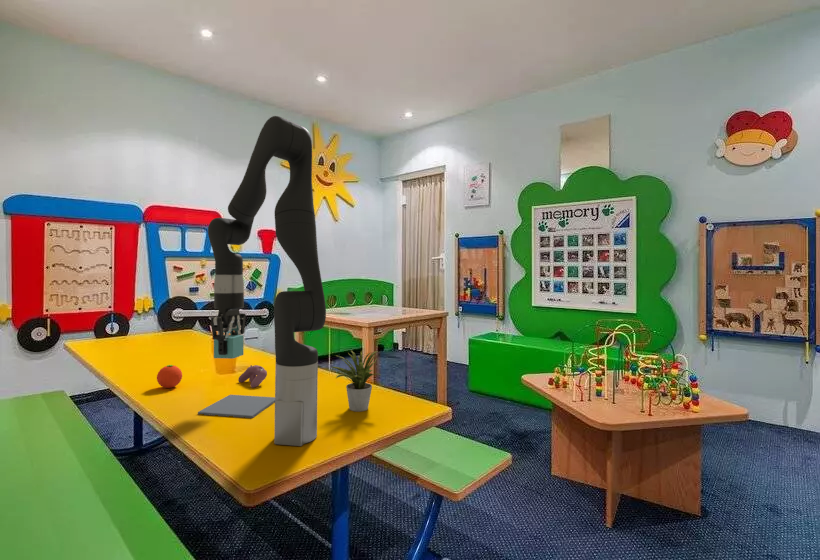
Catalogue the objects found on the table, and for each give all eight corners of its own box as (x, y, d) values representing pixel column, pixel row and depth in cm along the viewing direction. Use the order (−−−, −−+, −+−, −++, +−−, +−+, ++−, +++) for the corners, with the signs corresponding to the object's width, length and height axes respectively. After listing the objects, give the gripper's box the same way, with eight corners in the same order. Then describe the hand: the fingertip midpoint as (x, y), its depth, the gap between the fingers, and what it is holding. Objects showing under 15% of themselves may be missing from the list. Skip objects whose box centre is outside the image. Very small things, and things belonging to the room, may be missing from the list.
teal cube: (233, 358, 112) (233, 338, 112) (213, 358, 112) (213, 337, 112) (243, 354, 117) (243, 335, 117) (225, 354, 118) (225, 334, 118)
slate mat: (252, 418, 106) (252, 415, 106) (197, 414, 108) (197, 412, 108) (278, 399, 121) (278, 397, 121) (230, 396, 123) (230, 394, 123)
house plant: (354, 395, 126) (355, 342, 125) (394, 403, 119) (395, 347, 119) (323, 409, 113) (324, 349, 113) (365, 419, 107) (366, 355, 106)
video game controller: (262, 391, 134) (271, 370, 136) (250, 387, 131) (260, 365, 133) (247, 384, 141) (256, 365, 143) (236, 381, 137) (245, 360, 140)
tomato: (156, 385, 133) (156, 363, 132) (181, 382, 136) (181, 361, 136) (156, 392, 126) (156, 368, 126) (182, 388, 129) (182, 366, 129)
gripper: (227, 292, 107) (227, 358, 107) (254, 290, 121) (254, 348, 122) (200, 292, 108) (200, 357, 108) (230, 290, 122) (230, 348, 122)
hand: (229, 352), depth 115 cm, fingers closed on teal cube, 5 cm apart
